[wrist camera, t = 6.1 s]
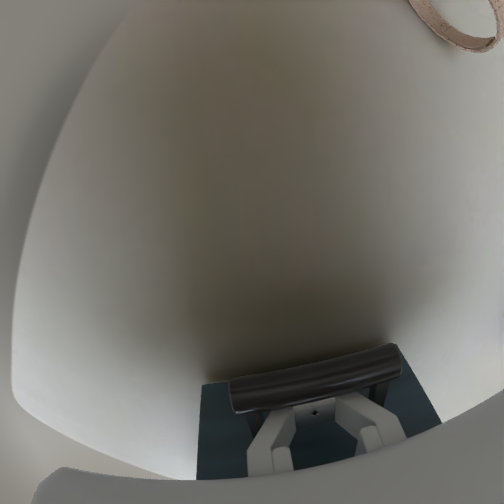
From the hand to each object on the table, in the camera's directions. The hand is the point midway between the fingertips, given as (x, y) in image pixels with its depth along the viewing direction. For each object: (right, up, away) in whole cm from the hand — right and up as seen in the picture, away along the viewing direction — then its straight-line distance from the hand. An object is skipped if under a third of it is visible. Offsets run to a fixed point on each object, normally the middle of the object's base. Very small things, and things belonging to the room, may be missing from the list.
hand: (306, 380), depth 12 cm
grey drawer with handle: (+1, -5, +6) cm, 8 cm away
